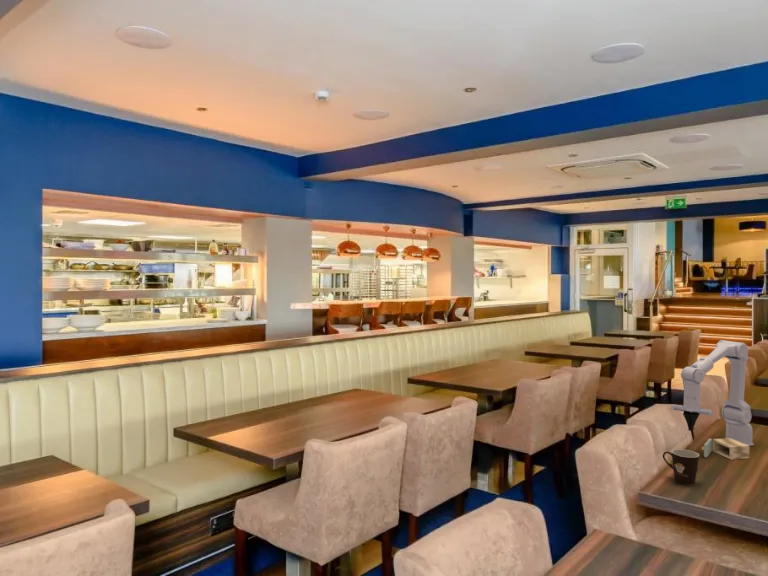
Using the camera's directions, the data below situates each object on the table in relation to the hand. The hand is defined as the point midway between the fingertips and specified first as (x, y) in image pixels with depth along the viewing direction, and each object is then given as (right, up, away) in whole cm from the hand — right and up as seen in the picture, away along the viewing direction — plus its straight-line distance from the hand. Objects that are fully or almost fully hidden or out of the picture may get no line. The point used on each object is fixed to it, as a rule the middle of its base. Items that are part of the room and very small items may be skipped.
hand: (691, 430), depth 232 cm
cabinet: (+14, -9, -2) cm, 17 cm away
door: (+5, -9, -2) cm, 11 cm away
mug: (-11, -10, -15) cm, 21 cm away
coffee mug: (-18, -11, -28) cm, 35 cm away
